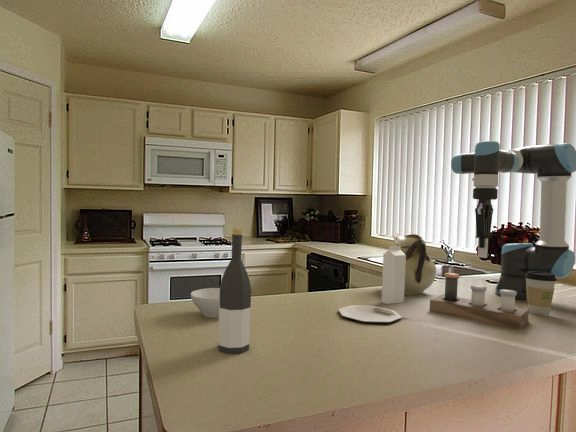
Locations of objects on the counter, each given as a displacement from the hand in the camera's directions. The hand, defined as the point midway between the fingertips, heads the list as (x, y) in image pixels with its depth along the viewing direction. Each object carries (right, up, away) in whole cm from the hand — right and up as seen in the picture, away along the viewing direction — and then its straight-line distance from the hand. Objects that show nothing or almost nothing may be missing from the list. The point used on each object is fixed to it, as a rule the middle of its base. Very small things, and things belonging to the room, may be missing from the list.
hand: (482, 257), depth 138 cm
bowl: (-89, -18, -7) cm, 92 cm away
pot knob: (-9, -15, +5) cm, 18 cm away
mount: (-2, -21, -1) cm, 21 cm away
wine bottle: (-80, -19, -36) cm, 90 cm away
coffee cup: (+24, -22, +8) cm, 34 cm away
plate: (-39, -20, -2) cm, 44 cm away
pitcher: (-13, -20, +38) cm, 45 cm away
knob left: (+5, -19, -6) cm, 21 cm away
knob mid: (-2, -19, -1) cm, 19 cm away
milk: (-26, -20, +18) cm, 37 cm away
